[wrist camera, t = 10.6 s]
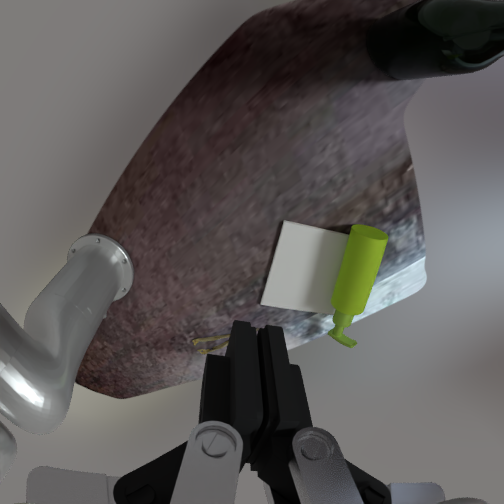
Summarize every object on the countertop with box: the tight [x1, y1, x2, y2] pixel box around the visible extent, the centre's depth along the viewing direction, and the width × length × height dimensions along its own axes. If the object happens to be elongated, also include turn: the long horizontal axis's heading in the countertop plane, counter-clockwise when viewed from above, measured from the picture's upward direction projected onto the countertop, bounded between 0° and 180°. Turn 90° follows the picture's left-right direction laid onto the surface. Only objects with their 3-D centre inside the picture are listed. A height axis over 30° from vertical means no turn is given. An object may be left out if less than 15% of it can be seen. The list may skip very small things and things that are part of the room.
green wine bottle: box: [366, 0, 504, 80], centre depth 20 cm, size 10×10×33 cm
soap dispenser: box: [328, 225, 388, 348], centre depth 47 cm, size 6×7×20 cm
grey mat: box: [260, 220, 349, 315], centre depth 50 cm, size 15×14×1 cm
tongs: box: [192, 328, 259, 354], centre depth 55 cm, size 4×13×2 cm, turn 115°
